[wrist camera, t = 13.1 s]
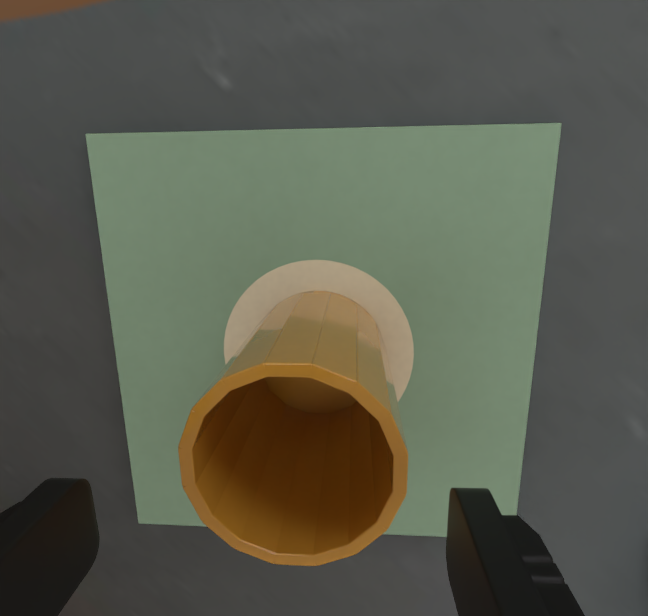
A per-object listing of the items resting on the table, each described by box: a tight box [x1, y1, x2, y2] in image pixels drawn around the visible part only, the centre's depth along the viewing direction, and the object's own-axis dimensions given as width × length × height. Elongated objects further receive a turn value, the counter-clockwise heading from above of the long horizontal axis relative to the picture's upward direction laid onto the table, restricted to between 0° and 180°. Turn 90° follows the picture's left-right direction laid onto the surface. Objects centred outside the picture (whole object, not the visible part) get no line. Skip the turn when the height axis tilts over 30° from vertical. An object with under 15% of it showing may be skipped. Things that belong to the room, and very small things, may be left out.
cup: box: [178, 291, 409, 566], centre depth 16 cm, size 6×6×9 cm
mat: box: [86, 123, 561, 537], centre depth 20 cm, size 20×20×1 cm
